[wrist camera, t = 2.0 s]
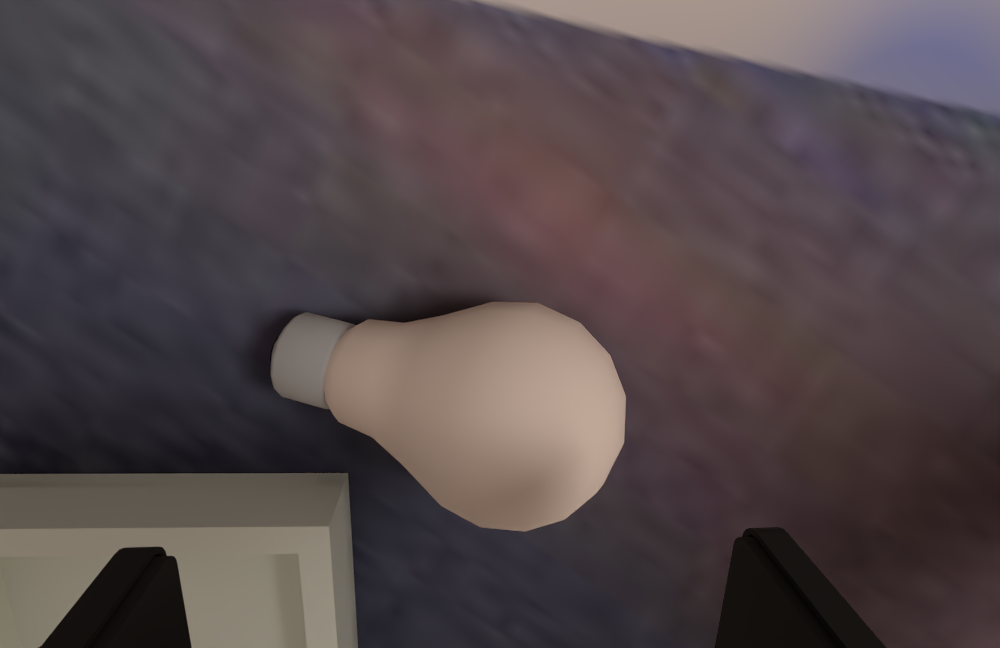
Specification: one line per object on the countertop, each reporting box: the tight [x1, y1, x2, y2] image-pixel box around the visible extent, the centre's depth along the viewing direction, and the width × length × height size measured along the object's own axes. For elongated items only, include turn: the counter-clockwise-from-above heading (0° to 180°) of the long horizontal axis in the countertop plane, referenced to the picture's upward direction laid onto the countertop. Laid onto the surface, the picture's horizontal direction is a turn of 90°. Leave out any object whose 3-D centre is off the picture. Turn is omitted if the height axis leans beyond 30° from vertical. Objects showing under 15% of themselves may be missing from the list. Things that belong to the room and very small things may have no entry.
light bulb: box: [270, 302, 626, 532], centre depth 17 cm, size 7×7×11 cm
